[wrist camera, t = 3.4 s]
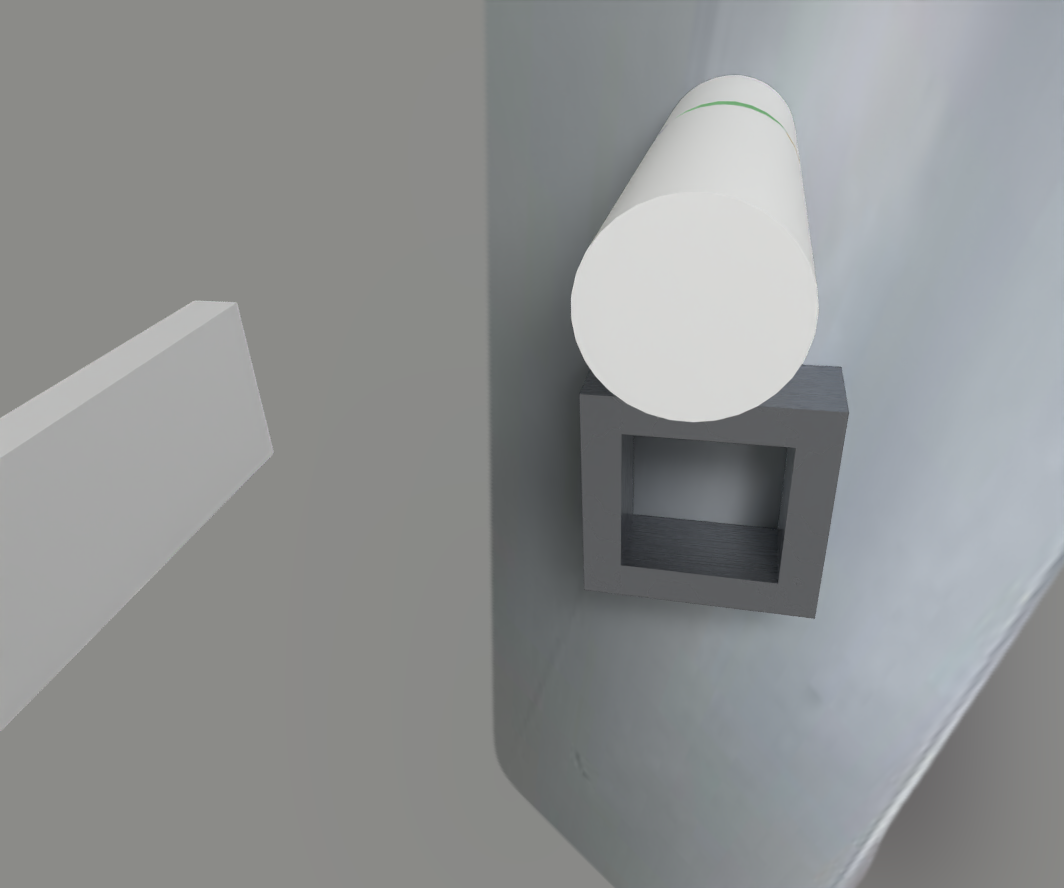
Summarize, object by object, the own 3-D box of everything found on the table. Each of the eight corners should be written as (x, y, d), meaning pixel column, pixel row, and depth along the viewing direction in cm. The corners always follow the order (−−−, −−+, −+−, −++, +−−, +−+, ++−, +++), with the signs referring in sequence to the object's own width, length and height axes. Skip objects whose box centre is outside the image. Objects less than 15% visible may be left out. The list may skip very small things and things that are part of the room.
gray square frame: (597, 353, 32) (579, 394, 29) (841, 367, 30) (848, 412, 27) (599, 538, 36) (584, 589, 33) (810, 561, 34) (814, 618, 31)
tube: (822, 157, 26) (868, 344, 14) (710, 236, 28) (662, 459, 16) (747, 44, 25) (724, 135, 13) (636, 134, 27) (523, 288, 15)
